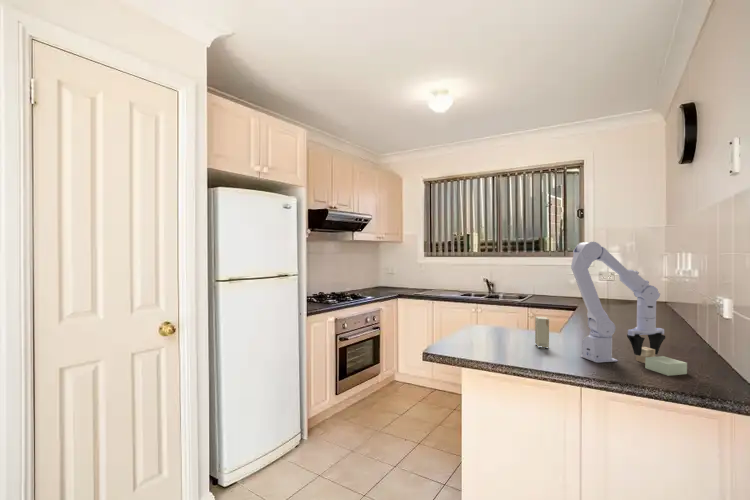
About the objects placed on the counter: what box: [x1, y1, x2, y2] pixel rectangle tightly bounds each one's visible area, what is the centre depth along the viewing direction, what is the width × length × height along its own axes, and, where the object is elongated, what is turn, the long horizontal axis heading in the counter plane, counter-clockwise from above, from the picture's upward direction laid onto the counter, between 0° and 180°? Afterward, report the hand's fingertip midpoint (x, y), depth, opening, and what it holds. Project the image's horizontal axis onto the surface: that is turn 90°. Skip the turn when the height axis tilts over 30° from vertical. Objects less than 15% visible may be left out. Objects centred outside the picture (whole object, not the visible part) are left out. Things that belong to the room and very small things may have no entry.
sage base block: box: [644, 355, 688, 377], centre depth 130 cm, size 8×8×4 cm
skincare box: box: [534, 316, 550, 349], centre depth 160 cm, size 6×4×12 cm
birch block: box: [635, 346, 656, 364], centre depth 140 cm, size 4×4×5 cm
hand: (645, 354), depth 140 cm, fingers open, 7 cm apart
